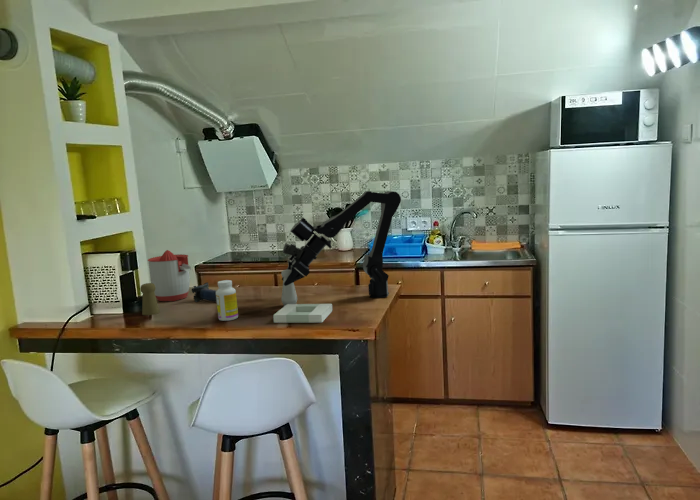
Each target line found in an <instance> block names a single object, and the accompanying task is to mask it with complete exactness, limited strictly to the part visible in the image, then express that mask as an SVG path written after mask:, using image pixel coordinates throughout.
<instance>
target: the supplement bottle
mask: <svg viewBox="0 0 700 500" xmlns="http://www.w3.org/2000/svg"><path fill="white" fill-rule="evenodd" d="M217 287H218V288H217V291H216V301H217V302H216V308H217V318H218V320H219V321H224V322H227V321H229V322H230V321H234V320H236V319H238V317H239V310H238V301H237V290H236V289H235V288H234V287H233V280H229V279H225V280H219V281H217Z"/></svg>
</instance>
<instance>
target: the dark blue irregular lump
mask: <svg viewBox="0 0 700 500" xmlns="http://www.w3.org/2000/svg"><path fill="white" fill-rule="evenodd" d="M209 286H210V285H209V282H205V283H204V284H200V285H197V286H196V285H193V287H192V288H191V293H192V294H194V295H193V300H194V302H195V303H198V302H201V301H209V302H212V303H213V302H214V303H217V301H216V291H217V290H218V289H217V290H216V289H210V288H209Z"/></svg>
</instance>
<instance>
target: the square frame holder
mask: <svg viewBox="0 0 700 500" xmlns="http://www.w3.org/2000/svg"><path fill="white" fill-rule="evenodd" d="M332 312H333V304H332V303H296V304H287V305H285V306H284V305H283V307H282V308H281V309H279V310H278V311H277V312H276V313H274V314H273V315H272V316H273V323H278V324H279V323H280V324H281V323H284V324H285V323H287V324H289V323H294V324H295V323H297V324H298V323H302V324H303V323H307V324H308V323H314V324H315V323H323V322H324V321H325V319H327V318H328V316H329V315H331V314H332Z"/></svg>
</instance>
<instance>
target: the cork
mask: <svg viewBox="0 0 700 500" xmlns="http://www.w3.org/2000/svg"><path fill="white" fill-rule="evenodd" d="M139 289H140V292H141V293H142V299H141V300H142V302H141V303H142V305H141V306H142V308H141V309H142V310H141V312H142V313H141V314H142V316H152V315H153V316H154V315H157V314H159V313H160V307H159V305H158V300H157V298H156V296H155V289H156V287H155V285H154V284H153V283H151V282H146V283H143V284H142V285H140V287H139Z"/></svg>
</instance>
